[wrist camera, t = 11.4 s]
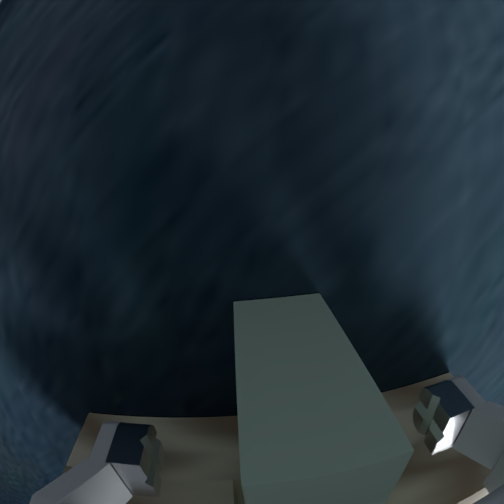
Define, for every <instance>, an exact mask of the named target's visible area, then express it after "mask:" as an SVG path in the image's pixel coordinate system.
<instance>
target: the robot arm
mask: <svg viewBox="0 0 504 504" xmlns="http://www.w3.org/2000/svg"><path fill="white" fill-rule="evenodd" d="M418 397H419V399H420V402H419V403H418V404H417V405H416V406H415V408H414V411H413V423H414V426H415V428H416V430H417V431H418V432H419V433H421V434H423V435H425V436H424V443H425V445H426V446H427V448H428V450H429V451H430V453H431V455H433V454H435V453H438V452H440V451H443V450H445V449H448V448H450V447H452V446H453V447H452V448H453V449H455V450H457V451H459V452H460V453H462V454H464V455H465V456H467V457H469V458H471V459H472V460H474V461H476V462H478V463H479V464H481V465H483V466H485V467H487V468H488V469H490V470H491V471H490V472H489V473H488V475H487V476H486V477H485V478H484V480H483V484H484V486H485V487H486V489H487V491H488V492H489V494H488V495H486V496H485V497H483V498H481V499H480V500H478V501H476V502H475V503H473V504H504V406H502V405H499V404H496V403H493V402H490V401H489V402H485V400H484V399H483V398H482V397H481V396H480V395H479V394H478V393H477V391H476V390H475V389H474V388H473V387H472V386H471V385H470V384H469V383H468V382H467V380H466V379H465V378H464V377H462V376H460V375H458V376H456V377H453V378H450V379H448V380H444V381H442V382H439V383H436V384H433V385H430V386H427V387H424V388H423V389H422V390H421V391H420V393H419V396H418ZM156 434H157V431H156V429H155V427H154V425H148V424H135V423H125V422H113V421H105V422H104V423H103V424H102V426H101V428H100V431H99V433H98V436H97V439H96V441H95V444H94V446H93V449H92V452H91V454H90V457H89V460H88V459H84V460H82V461H81V462H80V463H78V464H77V465H75V466H74V467H73V468H71V469H70V470H68V471H67V472H65V473H64V474H63V475H61V476H60V477H58V478H57V479H55V480H54V481H53V482H51V483H50V484H48V485H47V486H45V487H44V488H42V489H41V490H39V491H38V492H36V493H35V494H33V496H32V499H31V501H30V504H126V503H127V502H128V501H129V500H130V499H131V498H132V497H133V495H140V496H153V497H159V495H160V489H161V482H162V479H161V478H160V476H159V474H158V473H159V472H160V471H162V470H163V469H164V462H165V458H164V449H163V445H162V443H161V441H160V440H158V439H157V438H156Z"/></svg>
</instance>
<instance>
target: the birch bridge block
mask: <svg viewBox="0 0 504 504" xmlns="http://www.w3.org/2000/svg"><path fill="white" fill-rule="evenodd" d="M450 378H453V376H452V374H451V373H450V372H449V373H446V374H443V375H440V376H437V377H434V378H431V379H428V380H425V381H422V382H418V383H415V384H412V385H408V386H405V387H401V388H397V389H394V390H390V391H386V392H382V395H383V397H384V398H385V400H386V402H387V404H388V405H389V407H390V409H391V410H392V412H393V414H394V415H395V417H396V419H397V421H398V422H399V424H400V426H401V428H402V429H403V431H404V433H405V435H406V436H407V438H408V440H409V442H410V443H411V445H412V447H413V449H414V452H413V454H412V456H411V458H410V460H409V462H408V464H407V466H406V468H405V470H404V471H403V473H402V475H401V477H400V479H399V480H398V482H397V484H396V486H395V487H394V489H393V491H392V493H391V494H390V496H389V498H388V499H387V501H386V502H385V504H473V503H475V502H476V501H478V500H480V499H481V498H483V497H485V496H486V495H488V494H489V492H488V491H487V489H486V487H485V486H484V484H483V480H484V478H485V477H486V476H487V475H488V473H489V472H490V471H491V470H490V469H488V468H487V467H485V466H483V465H481V464H479V463H478V462H476V461H474V460H472V459H471V458H469V457H467V456H465V455H464V454H462V453H460V452H459V451H457V450H455V449H453V448H452V447H453V446H452V447H450V448H448V449H445V450H443V451H440V452H438V453H435V454H433V455H431V453H430V451H429V450H428V448H427V446H426V445H425V443H424V436H425V435H423V434H421V433H419V432H418V431H417V430H416V428H415V426H414V423H413V411H414V408H415V406H416V405H417V404H418V403H419V402H420V399H419V397H418V396H419V393H420V391H421V390H422V389H423V388H424V387H427V386H430V385H433V384H436V383H439V382H442V381H444V380H448V379H450ZM105 421H113V422H125V423H135V424H148V425H154V427H155V429H156V431H157V434H156V438H157V439H158V440H160V441H161V443H162V445H163V449H164V458H165V462H164V469H163V470H162V471H160V472H159V473H158V474H159V476H160V478H161V479H162V482H161V489H160V495H159V497H153V496H140V495H133V497H132V498H131V499H130V500H129V501H128V502H127V503H126V504H245V500H244V496H243V491H242V487H241V472H240V454H239V435H238V415H237V416H220V417H190V418H166V417H136V416H120V415H108V414H97V413H89V414H88V416H87V418H86V420H85V423H84V425H83V427H82V429H81V432H80V434H79V436H78V438H77V441H76V443H75V445H74V448H73V450H72V452H71V455H70V457H69V460H68V462H67V465H66V467H65V469H64V472H63V474H64V473H65V472H67V471H68V470H70V469H71V468H73V467H74V466H75V465H77V464H78V463H80V462H81V461H82V460H84V459H88V460H89V457H90V454H91V452H92V449H93V446H94V444H95V441H96V439H97V436H98V433H99V431H100V428H101V426H102V424H103V423H104V422H105Z"/></svg>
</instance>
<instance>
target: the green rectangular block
mask: <svg viewBox="0 0 504 504" xmlns="http://www.w3.org/2000/svg"><path fill="white" fill-rule="evenodd" d="M233 308H234V340H235V367H236V392H237V414H238V435H239V454H240V472H241V487H242V491H243V496H244V500H245V504H385V502H386V501H387V499H388V498H389V496H390V494H391V493H392V491H393V489H394V487H395V486H396V484H397V482H398V480H399V479H400V477H401V475H402V473H403V471H404V470H405V468H406V466H407V464H408V462H409V460H410V458H411V456H412V454H413V452H414V449H413V447H412V445H411V443H410V442H409V440H408V438H407V436H406V435H405V433H404V431H403V429H402V428H401V426H400V424H399V422H398V421H397V419H396V417H395V415H394V414H393V412H392V410H391V409H390V407H389V405H388V404H387V402H386V400H385V398H384V397H383V395H382V393H381V392H380V390H379V388H378V387H377V385H376V383H375V382H374V380H373V378H372V377H371V375H370V373H369V372H368V370H367V368H366V367H365V365H364V363H363V362H362V360H361V359H360V357H359V355H358V354H357V352H356V350H355V349H354V347H353V345H352V344H351V342H350V341H349V339H348V337H347V336H346V334H345V333H344V331H343V329H342V328H341V326H340V325H339V323H338V321H337V320H336V318H335V317H334V315H333V313H332V312H331V310H330V309H329V307H328V306H327V304H326V302H325V301H324V299H323V298H322V296H321V295H320V293H317V294H308V295H298V296H289V297H279V298H269V299H258V300H247V301H235V302H233Z"/></svg>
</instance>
